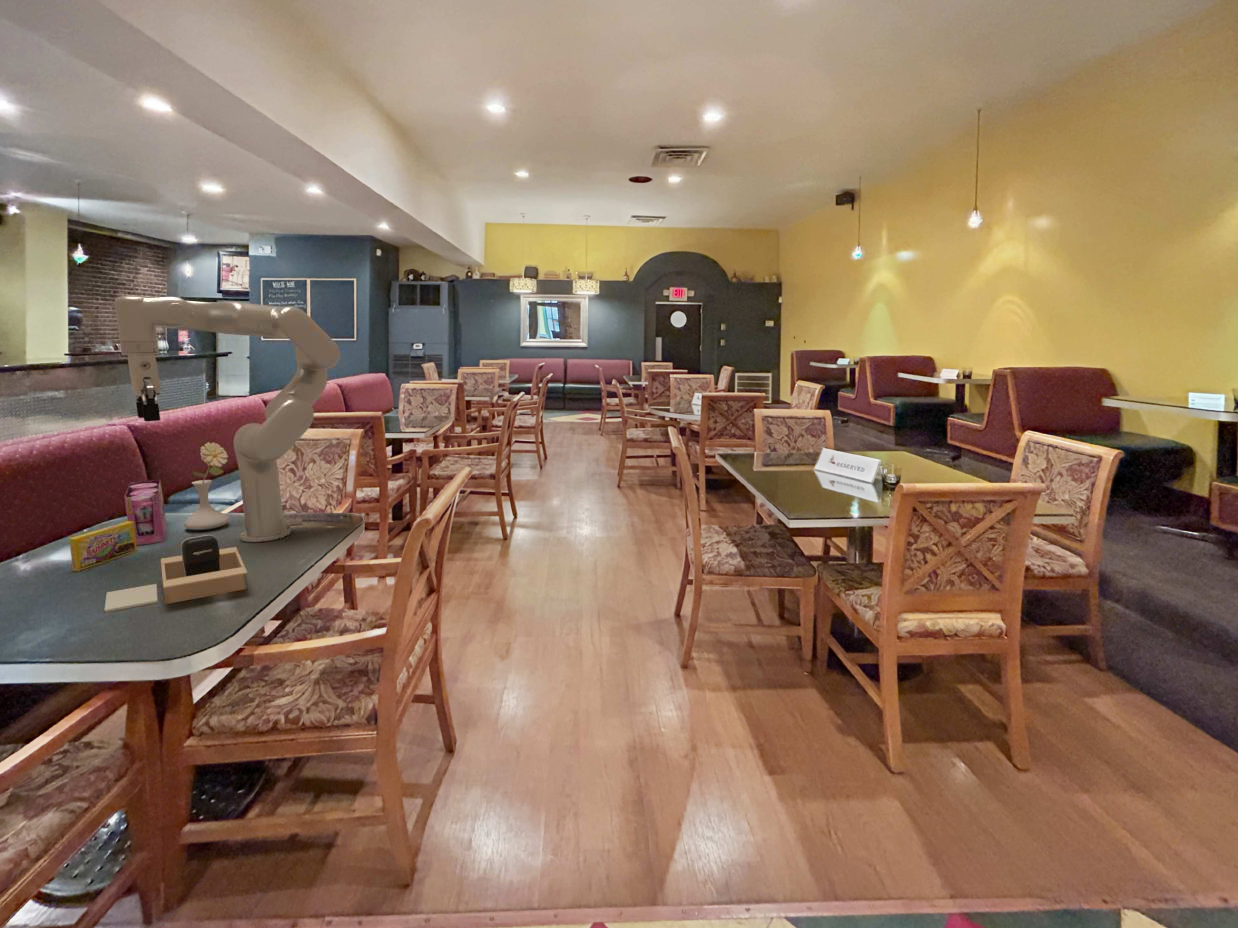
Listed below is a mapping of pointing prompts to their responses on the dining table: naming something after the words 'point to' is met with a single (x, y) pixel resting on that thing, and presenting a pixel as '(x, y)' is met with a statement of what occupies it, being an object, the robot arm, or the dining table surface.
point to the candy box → (102, 545)
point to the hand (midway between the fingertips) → (149, 419)
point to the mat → (131, 597)
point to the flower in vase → (205, 513)
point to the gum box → (146, 511)
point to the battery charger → (200, 555)
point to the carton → (203, 578)
